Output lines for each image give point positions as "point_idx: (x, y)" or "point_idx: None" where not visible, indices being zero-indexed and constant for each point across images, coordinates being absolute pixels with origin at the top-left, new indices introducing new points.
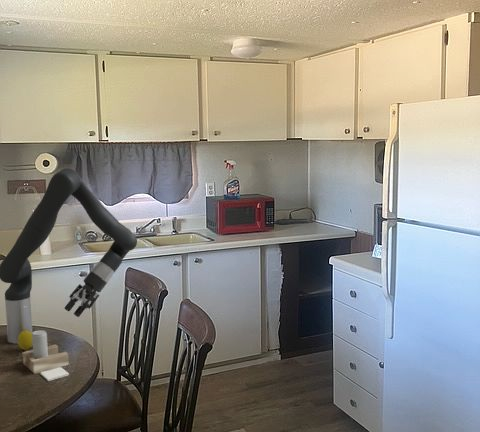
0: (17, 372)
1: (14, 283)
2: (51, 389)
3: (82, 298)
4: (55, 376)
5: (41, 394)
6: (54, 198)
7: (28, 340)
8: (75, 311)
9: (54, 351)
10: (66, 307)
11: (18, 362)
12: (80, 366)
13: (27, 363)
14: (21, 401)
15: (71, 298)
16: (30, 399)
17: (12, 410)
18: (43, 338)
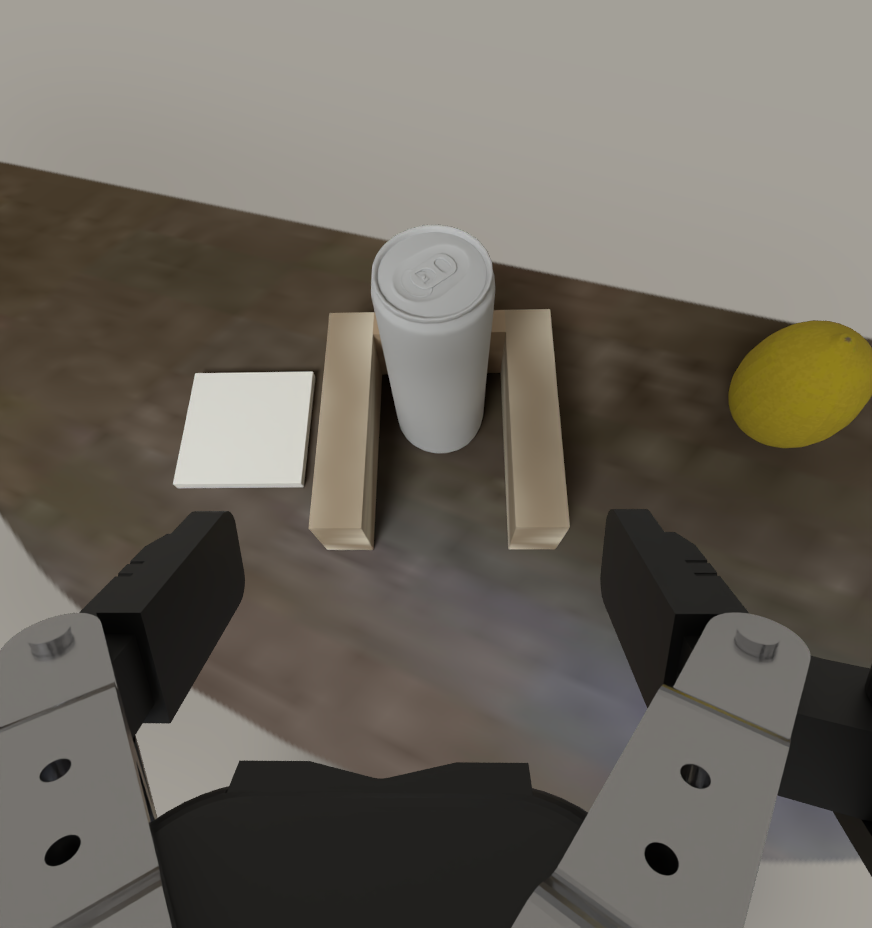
0: None
1: None
2: (97, 360)
3: (55, 711)
4: (197, 413)
5: (90, 312)
6: None
7: (746, 385)
8: (199, 528)
9: (511, 508)
10: (616, 530)
11: (570, 338)
12: (242, 598)
13: None
14: (103, 238)
15: (738, 638)
16: (87, 267)
17: (61, 198)
18: (375, 311)
